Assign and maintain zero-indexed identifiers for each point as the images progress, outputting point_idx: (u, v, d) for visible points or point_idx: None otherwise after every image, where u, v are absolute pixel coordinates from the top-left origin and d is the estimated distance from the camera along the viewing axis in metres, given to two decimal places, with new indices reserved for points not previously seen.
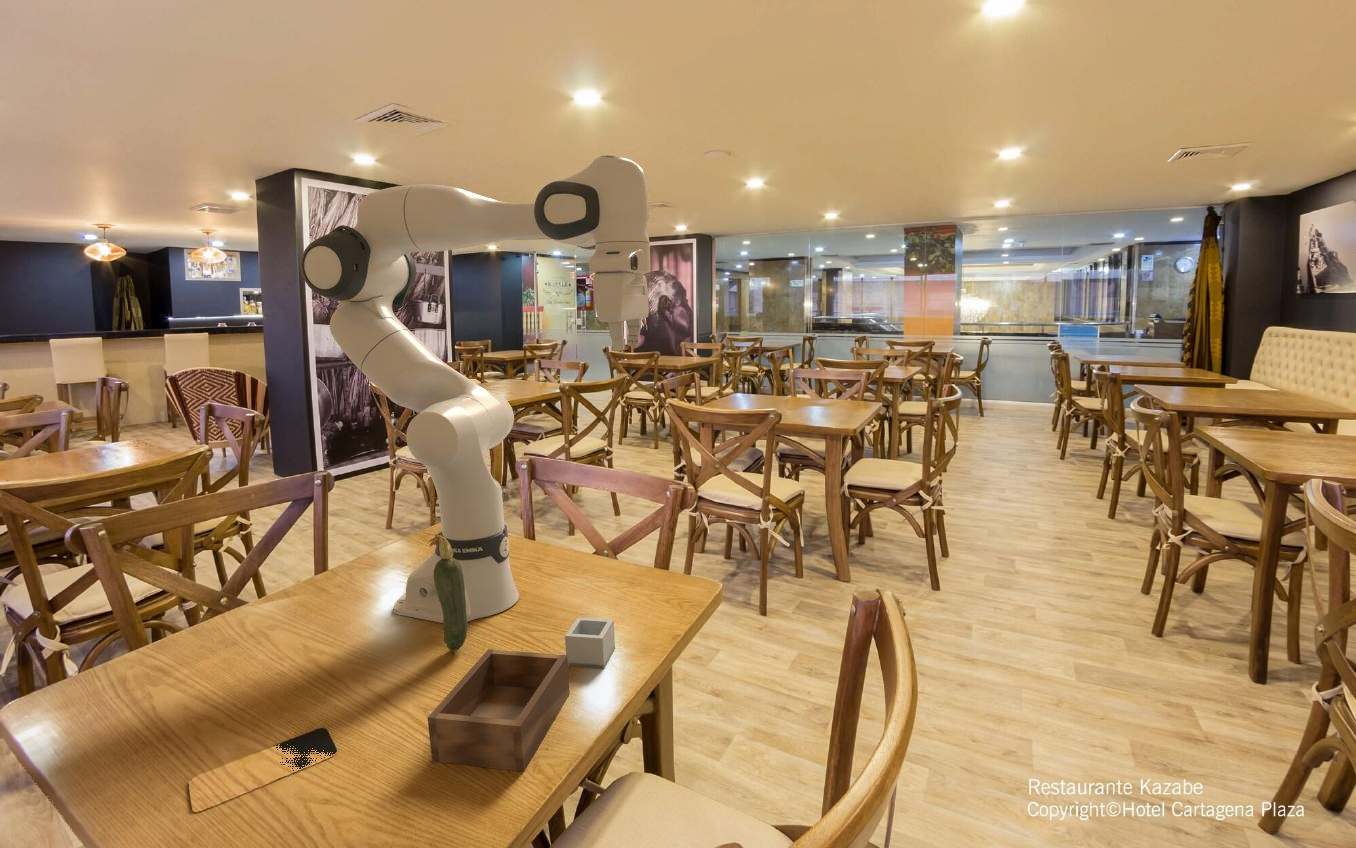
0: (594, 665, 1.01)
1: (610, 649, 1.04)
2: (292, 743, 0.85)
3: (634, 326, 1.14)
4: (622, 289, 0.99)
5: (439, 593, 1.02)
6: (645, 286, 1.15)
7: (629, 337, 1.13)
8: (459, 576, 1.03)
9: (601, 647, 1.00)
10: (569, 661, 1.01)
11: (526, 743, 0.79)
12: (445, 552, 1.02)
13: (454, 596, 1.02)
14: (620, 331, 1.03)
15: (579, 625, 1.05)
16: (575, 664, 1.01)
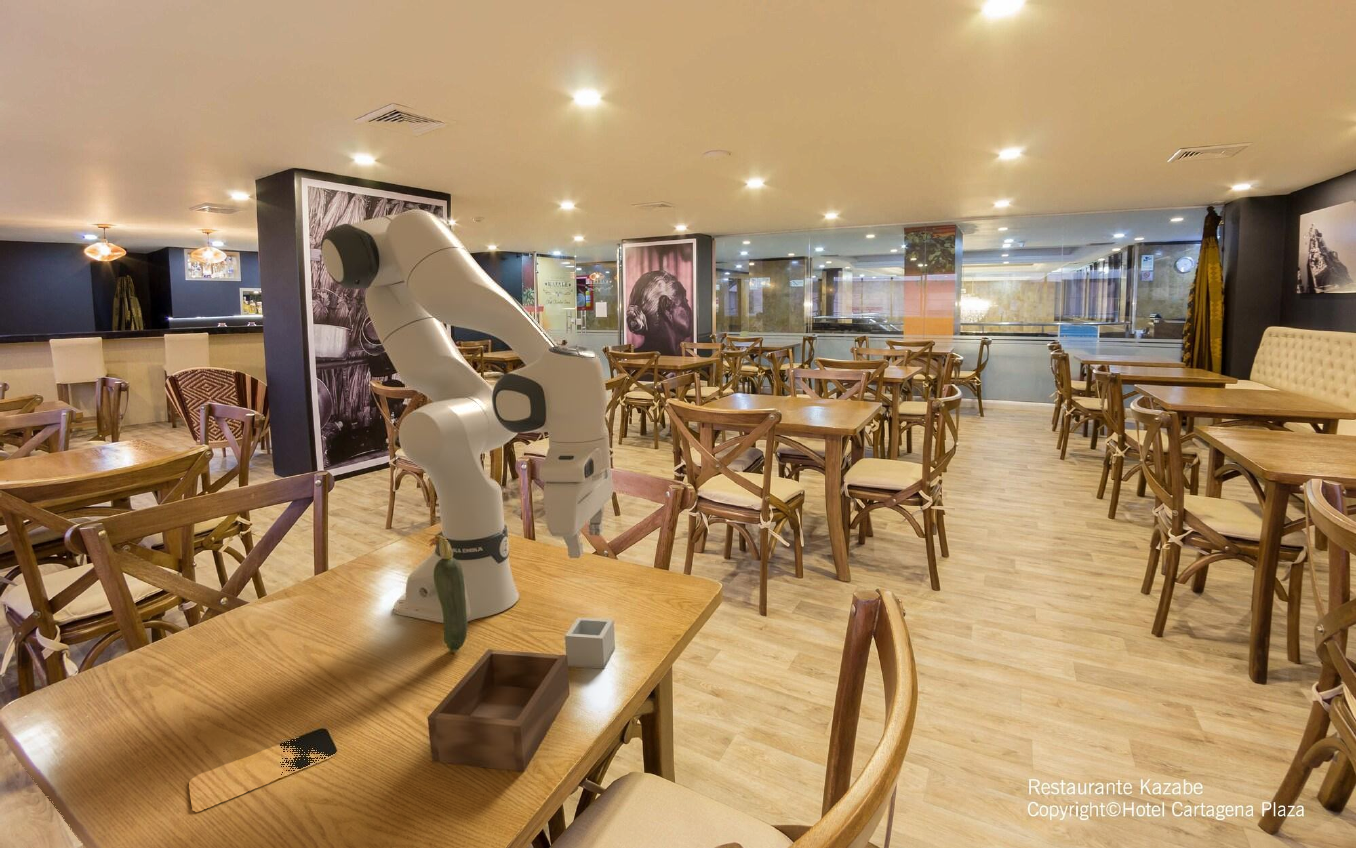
0: (594, 665, 1.01)
1: (610, 649, 1.04)
2: (292, 743, 0.85)
3: (597, 512, 1.05)
4: (575, 504, 0.89)
5: (439, 593, 1.02)
6: (608, 468, 1.06)
7: (590, 526, 1.04)
8: (459, 576, 1.03)
9: (601, 647, 1.00)
10: (569, 661, 1.01)
11: (526, 743, 0.79)
12: (445, 552, 1.02)
13: (454, 596, 1.02)
14: (576, 540, 0.94)
15: (579, 625, 1.05)
16: (575, 664, 1.01)
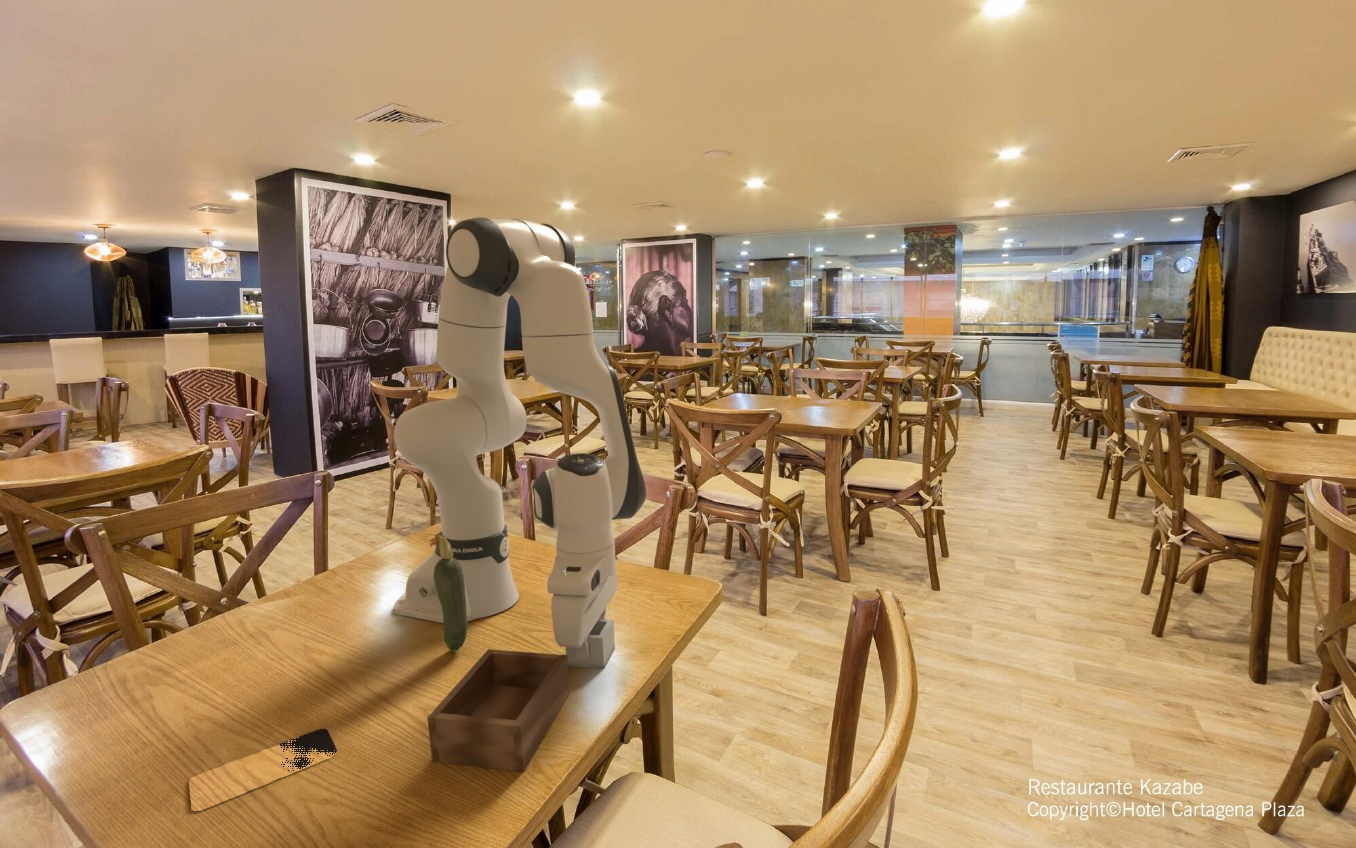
0: (594, 665, 1.01)
1: (610, 649, 1.04)
2: (292, 743, 0.85)
3: None
4: (582, 617, 0.92)
5: (439, 593, 1.02)
6: None
7: None
8: (459, 576, 1.03)
9: (601, 647, 1.00)
10: (569, 661, 1.01)
11: (526, 743, 0.79)
12: (445, 552, 1.02)
13: (454, 596, 1.02)
14: (584, 643, 0.98)
15: None
16: (575, 664, 1.01)
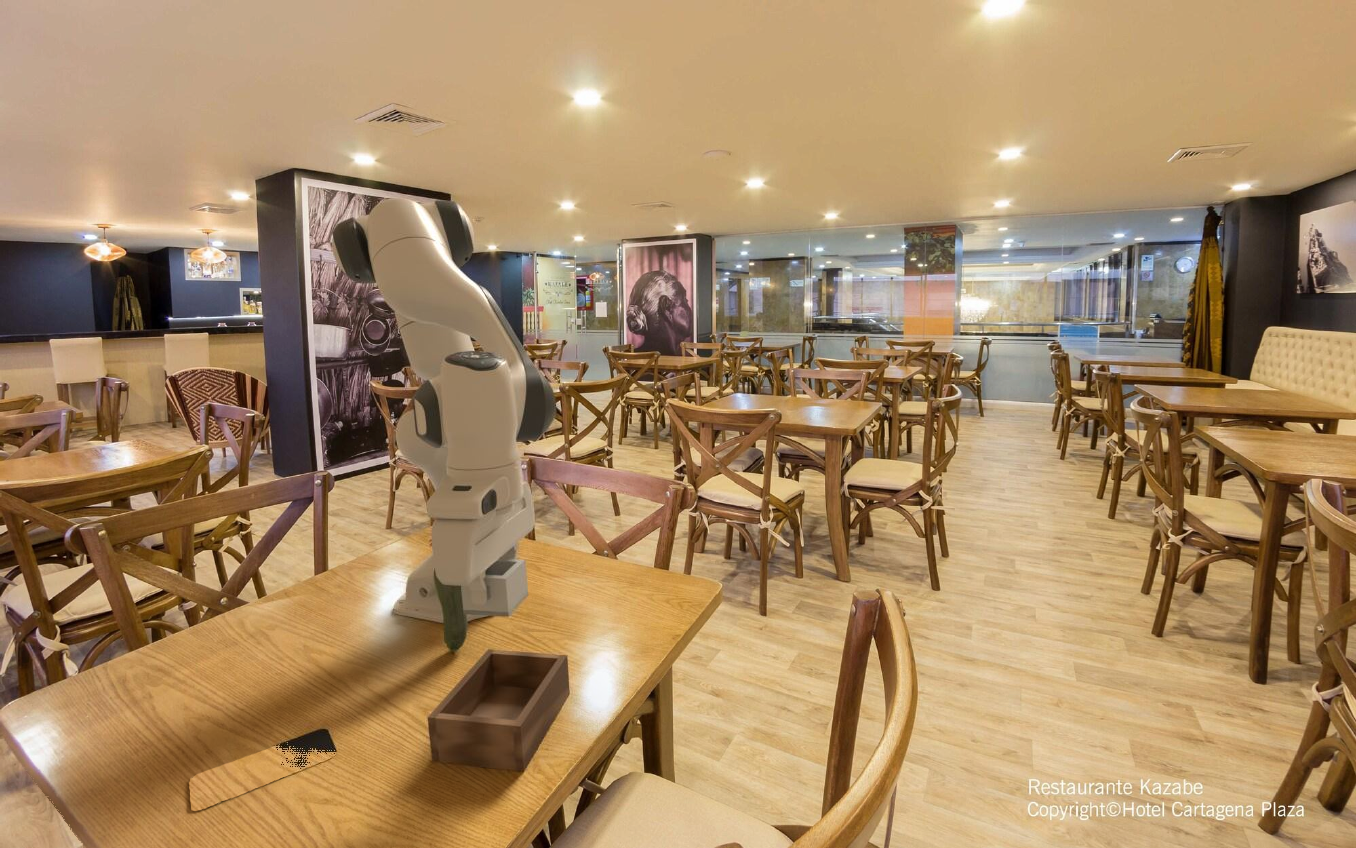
0: (497, 612, 0.81)
1: (520, 594, 0.84)
2: (293, 743, 0.85)
3: (509, 551, 0.88)
4: (469, 546, 0.73)
5: (439, 593, 1.02)
6: (526, 496, 0.89)
7: None
8: None
9: (504, 590, 0.80)
10: (466, 608, 0.82)
11: (526, 743, 0.79)
12: None
13: (454, 596, 1.02)
14: (479, 584, 0.78)
15: None
16: (474, 612, 0.82)
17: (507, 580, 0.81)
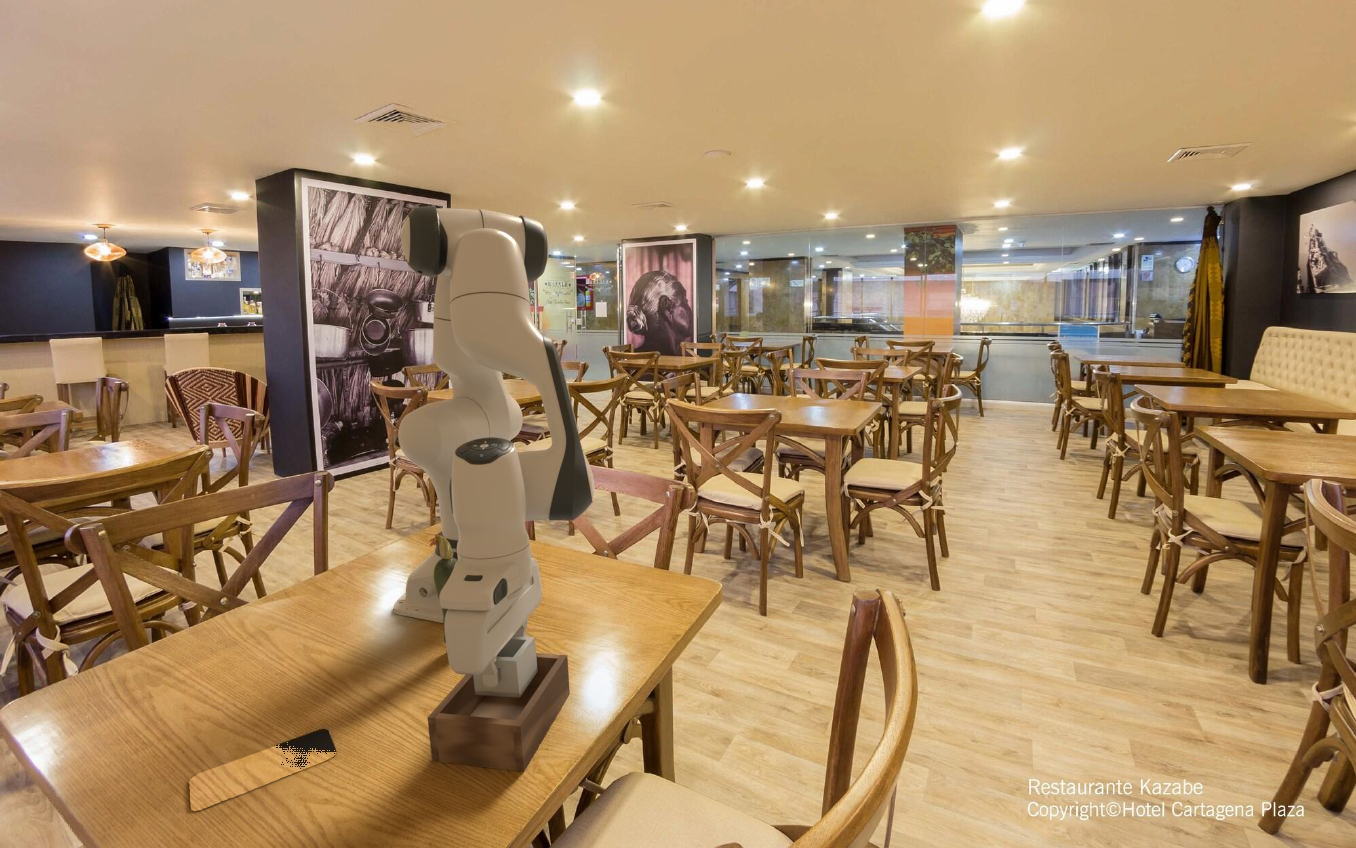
0: (508, 693, 0.83)
1: (530, 672, 0.86)
2: (293, 743, 0.85)
3: (518, 627, 0.90)
4: (481, 637, 0.75)
5: (439, 593, 1.02)
6: (534, 572, 0.91)
7: None
8: None
9: (515, 672, 0.82)
10: (478, 689, 0.84)
11: (526, 743, 0.79)
12: (445, 552, 1.02)
13: None
14: (490, 668, 0.80)
15: None
16: (485, 693, 0.84)
17: (518, 662, 0.83)
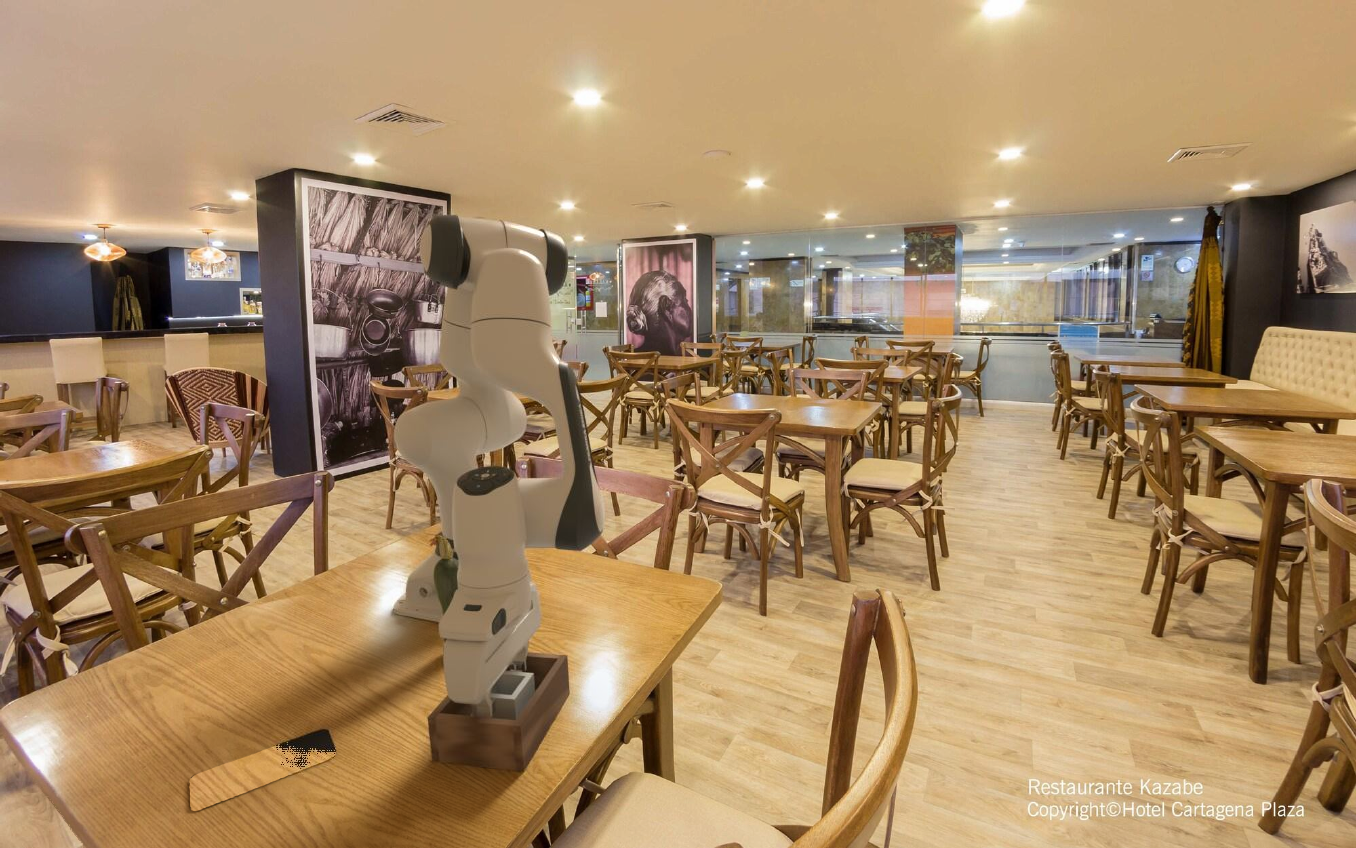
0: None
1: None
2: (293, 743, 0.85)
3: None
4: (479, 668, 0.76)
5: (439, 593, 1.02)
6: (533, 597, 0.92)
7: (512, 666, 0.90)
8: None
9: (513, 710, 0.83)
10: None
11: (526, 743, 0.79)
12: (445, 552, 1.02)
13: None
14: (485, 701, 0.80)
15: None
16: None
17: (516, 700, 0.84)
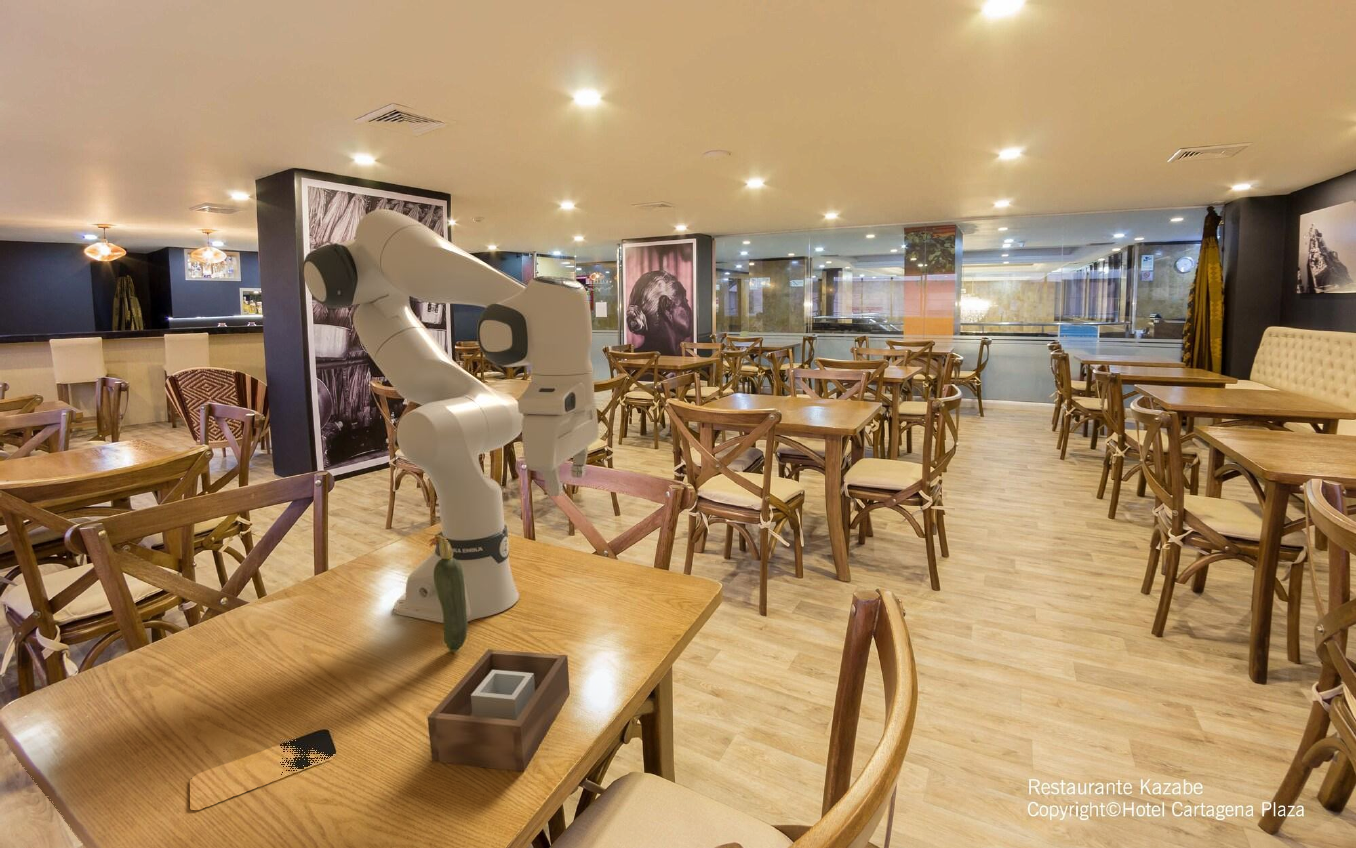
0: None
1: None
2: (293, 743, 0.85)
3: (580, 454, 1.02)
4: (554, 437, 0.86)
5: (439, 593, 1.02)
6: (593, 409, 1.02)
7: (573, 468, 1.01)
8: (459, 576, 1.03)
9: (513, 710, 0.83)
10: None
11: (526, 743, 0.79)
12: (445, 552, 1.02)
13: (454, 596, 1.02)
14: (555, 477, 0.91)
15: (492, 680, 0.88)
16: None
17: (516, 700, 0.84)
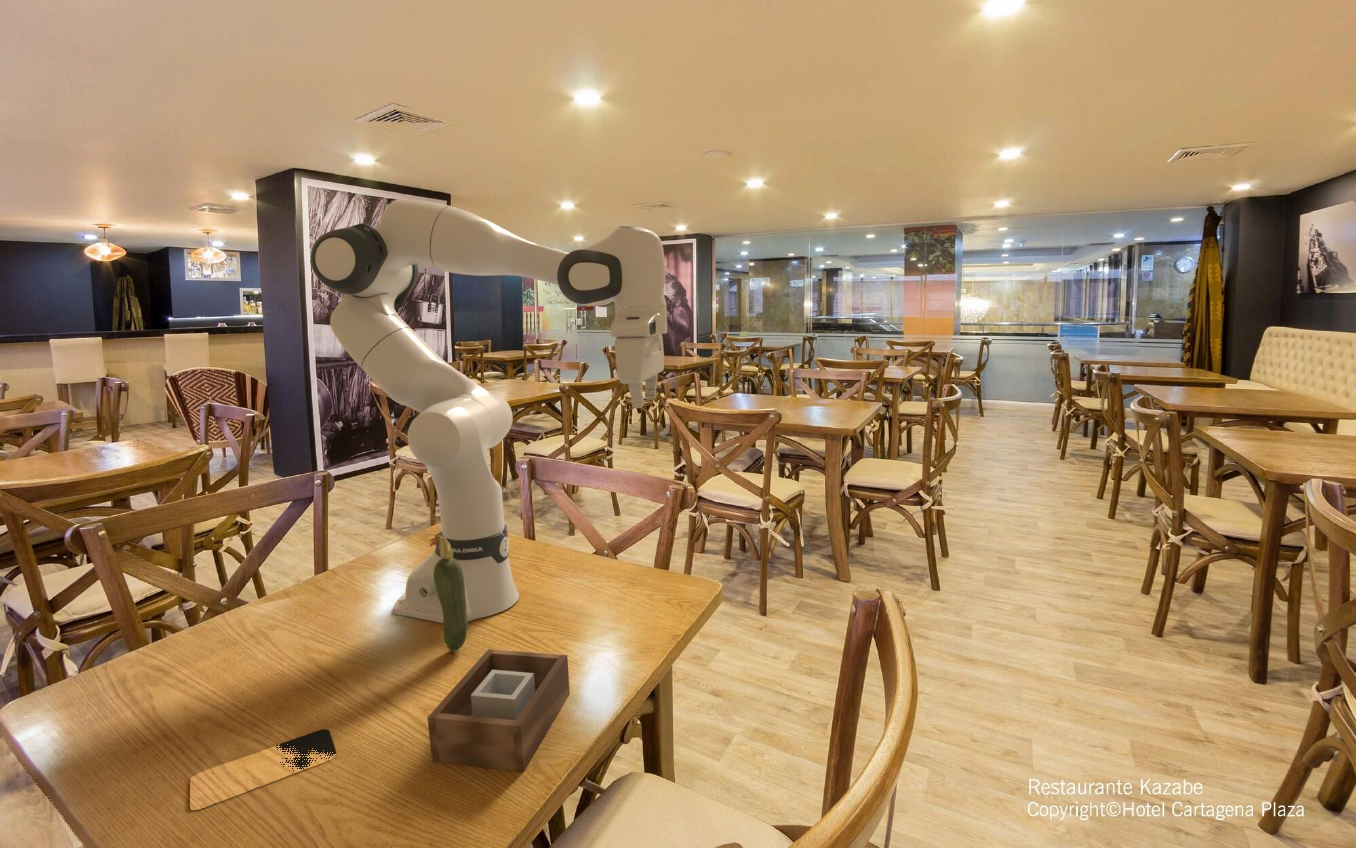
0: None
1: None
2: (294, 743, 0.85)
3: (651, 381, 1.21)
4: (642, 354, 1.05)
5: (439, 593, 1.02)
6: (661, 342, 1.22)
7: (646, 391, 1.20)
8: (459, 576, 1.03)
9: (513, 710, 0.83)
10: None
11: (526, 743, 0.79)
12: (445, 552, 1.02)
13: (454, 596, 1.02)
14: (639, 391, 1.10)
15: (492, 680, 0.88)
16: None
17: (516, 700, 0.84)
